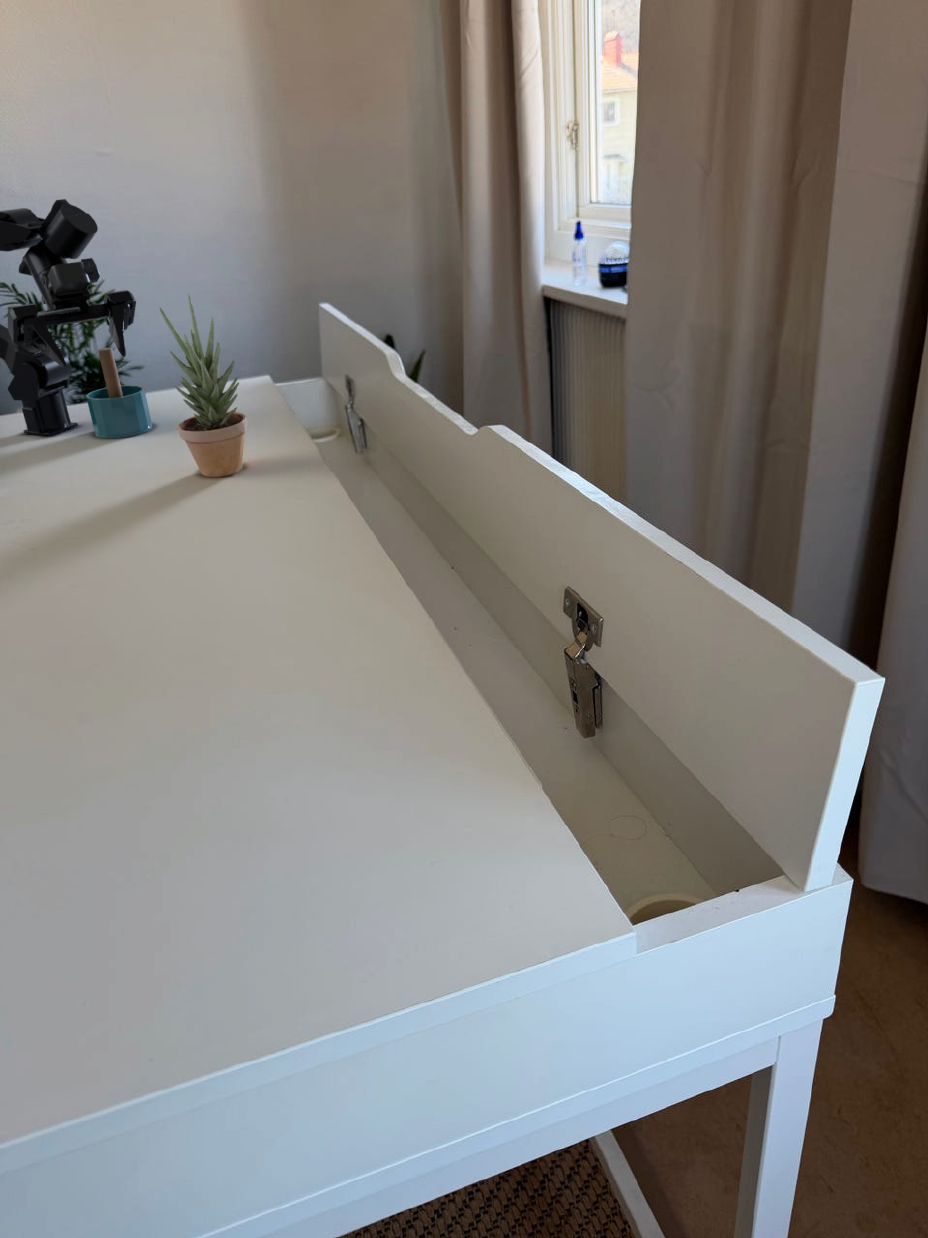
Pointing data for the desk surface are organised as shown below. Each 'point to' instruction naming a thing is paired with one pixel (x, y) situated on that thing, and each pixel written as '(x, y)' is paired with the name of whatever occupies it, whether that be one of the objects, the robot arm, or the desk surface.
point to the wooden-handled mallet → (110, 372)
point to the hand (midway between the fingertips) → (95, 360)
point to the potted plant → (209, 406)
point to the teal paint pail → (119, 412)
